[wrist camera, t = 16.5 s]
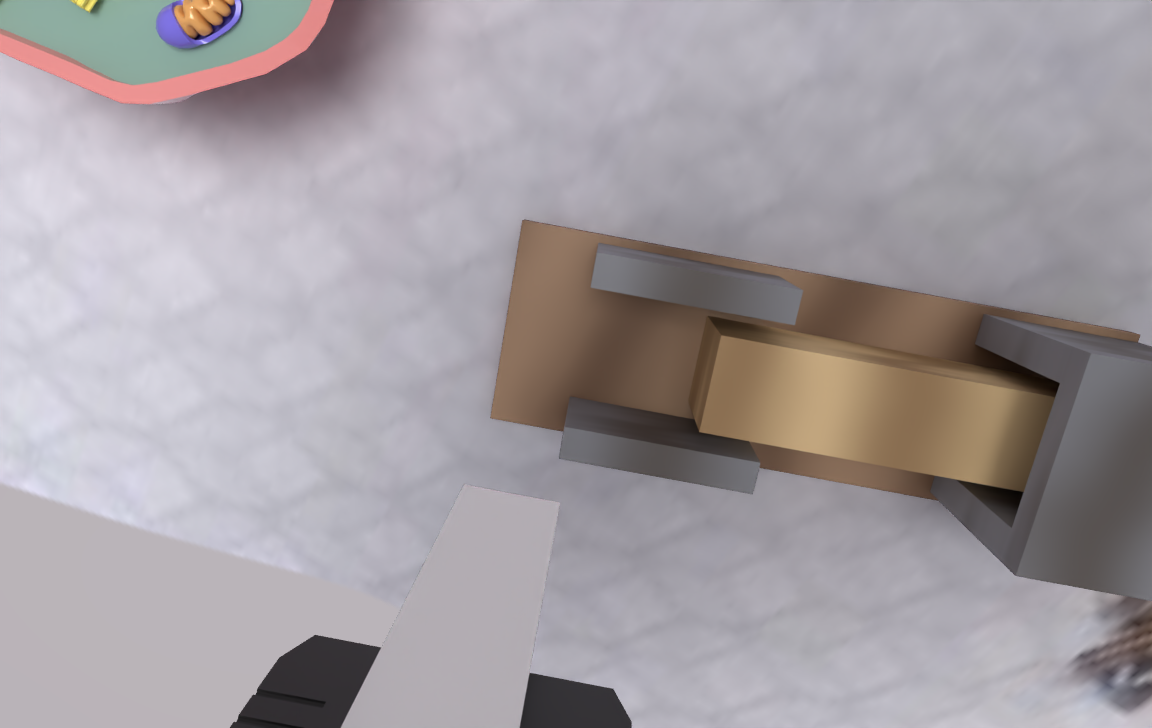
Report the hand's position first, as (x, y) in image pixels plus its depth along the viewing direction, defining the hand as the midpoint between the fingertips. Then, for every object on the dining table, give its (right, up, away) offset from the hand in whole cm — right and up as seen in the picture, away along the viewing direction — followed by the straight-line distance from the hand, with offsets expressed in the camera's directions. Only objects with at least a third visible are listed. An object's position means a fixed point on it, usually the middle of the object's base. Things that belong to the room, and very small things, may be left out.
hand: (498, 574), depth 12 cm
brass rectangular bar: (+13, +2, +19) cm, 23 cm away
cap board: (+10, +3, +20) cm, 22 cm away
